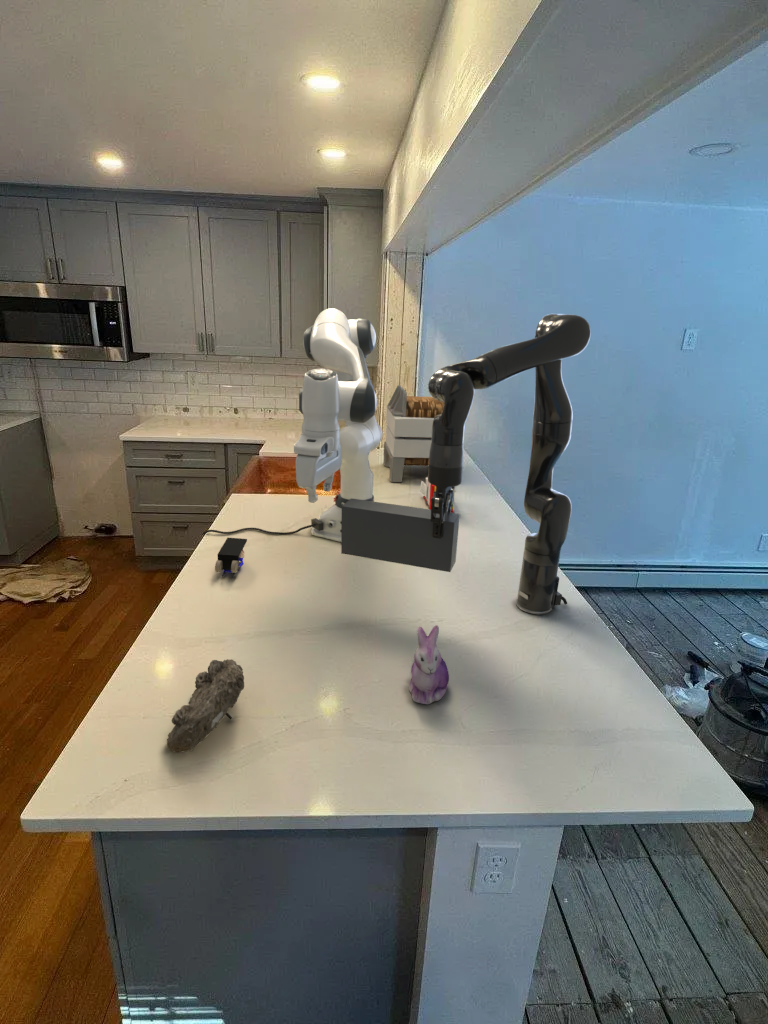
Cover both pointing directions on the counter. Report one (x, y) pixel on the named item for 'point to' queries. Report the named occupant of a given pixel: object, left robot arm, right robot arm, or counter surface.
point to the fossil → (206, 705)
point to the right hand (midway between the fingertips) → (440, 532)
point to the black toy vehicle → (230, 556)
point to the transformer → (408, 431)
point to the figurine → (428, 669)
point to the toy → (429, 492)
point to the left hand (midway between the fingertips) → (320, 496)
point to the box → (398, 534)
